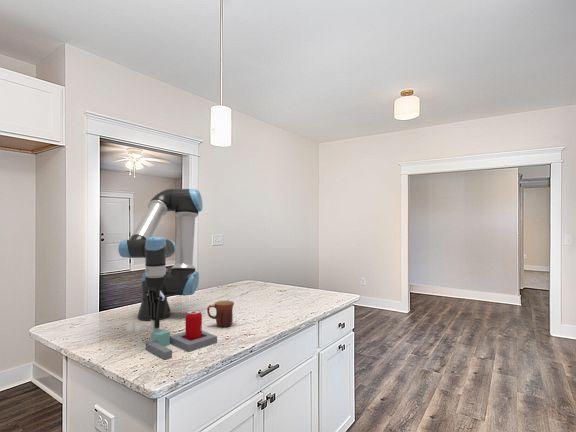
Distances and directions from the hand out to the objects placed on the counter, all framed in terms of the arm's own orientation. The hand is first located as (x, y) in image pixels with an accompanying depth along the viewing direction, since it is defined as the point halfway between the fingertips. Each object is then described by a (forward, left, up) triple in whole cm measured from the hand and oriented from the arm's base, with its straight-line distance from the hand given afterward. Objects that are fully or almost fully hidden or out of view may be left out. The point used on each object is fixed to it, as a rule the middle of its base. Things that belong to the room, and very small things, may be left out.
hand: (155, 335), depth 134 cm
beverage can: (+12, +9, -2) cm, 16 cm away
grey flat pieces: (+12, +4, -2) cm, 13 cm away
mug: (+3, +29, -2) cm, 30 cm away
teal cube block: (+8, -1, 0) cm, 8 cm away
